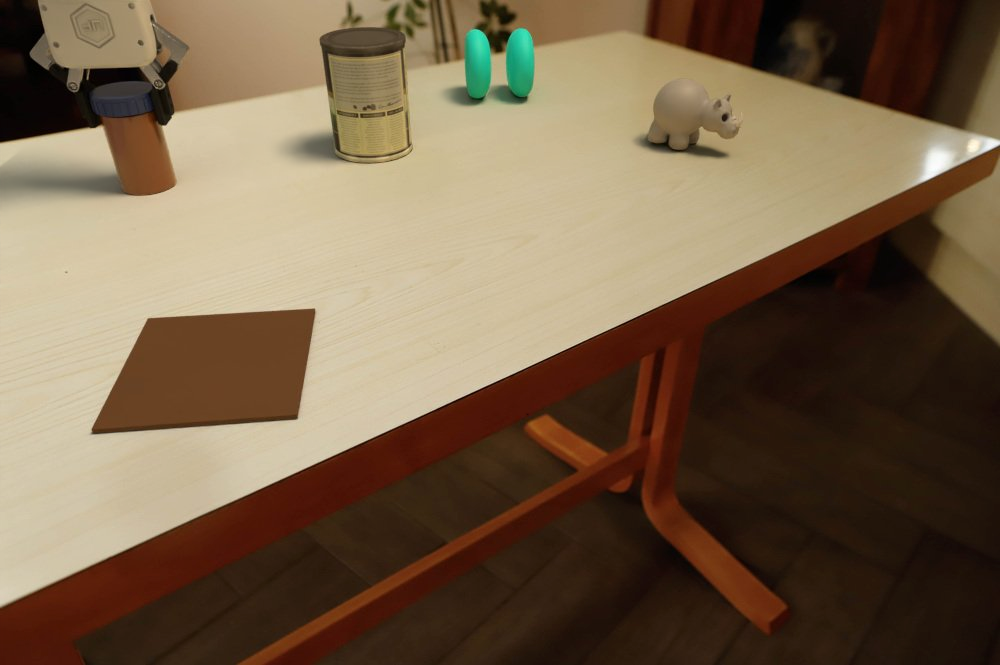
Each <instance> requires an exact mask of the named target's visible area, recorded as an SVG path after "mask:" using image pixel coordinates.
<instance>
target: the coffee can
mask: <svg viewBox="0 0 1000 665" xmlns="http://www.w3.org/2000/svg"><path fill="white" fill-rule="evenodd" d="M406 36H407V35H406V34H405V33H404V32H402V31H400V30H398V29H394V28H387V27H376V26H361V27H359V26H358V27H348V28H347V27H346V28H341V29H336V30H332V31H329V32H326V33H323V35H321V36H320V37H319V40H318V41H319V45H320V48H321V54H322V61H323V68H324V75H325V76H324V77H325V85H326V91H327V97H328V99H327V100H328V106H329V114H330V121H331V122H330V123H331V129H332V137H333V144H334V154H336V156H337V157H339V158H340V159H343V160H346V161H348V162H353V163H361V164H362V163H365V164H372V163H375V164H376V163H385V162H389V161H394V160H396V159H401V158H403V157H405V156H407V155H408V154H409V153H410V152H411V151H412V150H413V147H414V146H413V142H412V141H413V140H412V128H411V126H412V125H411V114H410V113H411V112H410V100H409V85H408V82H409V81H408V69H407V56H406V42H407V40H406V38H407V37H406Z"/></svg>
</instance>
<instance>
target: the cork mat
mask: <svg viewBox="0 0 1000 665" xmlns="http://www.w3.org/2000/svg"><path fill="white" fill-rule="evenodd" d="M316 312H317V310H316V308H299V309H281V310H279V309H278V310H266V311H265V310H264V311H247V312H231V313H230V312H229V313H214V314H193V315H179V316H178V315H176V316H161V317H160V316H159V317H147V319H146V320H145V323H144V324H143V326H142V329H141V331H140V332H139V334H138V337H137V338H136V341H135V343H134V345H133V346H132V348H131V350H130V353H129V355H128V357H127V359H126V361H125V362H124V364H123V366H122V369H121V370H120V372H119V374H118V376H117V378H116V380H115V382H114V384H113V386H112V388H111V390H110V392H109V394H108V395H107V398H106V400H105V401H104V404H103V405H102V406H101V409H100V412H99V413H98V415H97V417H96V418H95V421H94V423H93V425H92V427H91V429H90V430H91V432H92V434H101V433H102V434H103V433H105V434H106V433H116V432H117V433H118V432H131V431H132V432H133V431H145V430H158V429H159V430H160V429H171V428H173V429H174V428H184V427H200V426H213V425H215V426H216V425H226V424H227V425H229V424H240V423H241V424H242V423H254V422H256V423H257V422H268V421H270V422H271V421H280V420H282V421H283V420H295V419H298V418H299V413H300V406H301V401H302V395H303V389H304V383H305V378H306V371H307V366H308V360H309V354H310V347H311V341H312V335H313V330H314V324H315V318H316Z"/></svg>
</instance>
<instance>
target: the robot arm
mask: <svg viewBox="0 0 1000 665" xmlns="http://www.w3.org/2000/svg"><path fill="white" fill-rule="evenodd" d="M37 3H38V9H39V14H40V17H41V21H42V25H43V29H44V33H43V34H42V35H41V36H40V38H39V39H38V41H37V42H36V43H35V44H34V46H33V47H32V49H31V50H30V51H29V56H30V58H31V60H33V61H35V62H36V63H37V64H39V65H40V66H41V67H43V68H44V69H45V70H47V71H48V72H49V73H50V75H51V76H53V77H54V78H55V79H57V80H59V81H60V82H61V83H63V84H64V85H66V88H67V89H68V90H69V91H70V92H72V93H74V96H75V99H76V102H77V106H78V108H79V111H80V114H81V117H82V118H83V119H86V122H87V125H88V127H89V129H97V128H98V127H99V126H100V125H102V124H101V120H100V117H99V115H98V114H96V113H95V112H94V111H93V109H92V106H91V103H90V100H89V99H90V97H89V92H90V91H91V90H93V89H94V88H96V86H95V85H94V83H90V80H89V76H90V70H91V69H118V68H120V69H121V68H139V69H140V71H141V72H142V73H143V74H144V76H145V77H146V78H147V79H148V81H149V83H151V84H152V87H153V88H152V89H151V90H150V95H151V99H152V103H153V106H154V110H155V114H156V117H157V121H158V124H159V125H161V126H162V127H163V126H168V124H169V122H170V121H171V120H172V118H173V116H174V115H175V106H174V102H173V98H172V94H171V90H170V87H169V82H170V81H171V79H173V77H174V76H175V74H176V73H177V72H178V70H179V69H180V67H181V66H182V64H183V62H184V61H185V60H186V58H187V56H188V55H189V53H190V51H191V49H190V46H189V45H188V44H187V43H186V42H184V41H182V39H180V38H178V37H177V36H176V35H174V34H173V33H172V32H170V31H169V30H168V29H166V28H165V27H163V26H162V25H160V24H159V23H158V21H157V20H158V19H157V18H156V14H155V11H154V7H153V6H152V2H151V0H37ZM164 47H165V48H166V49H167V50H169V52H170V56H169V57H168V59H167V61H166V63H165V64H164V65H163V64H162V63H161V61H160V60H159V58H158V57H157V56H159V55H160V54H162V52H163V50H164Z"/></svg>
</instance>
